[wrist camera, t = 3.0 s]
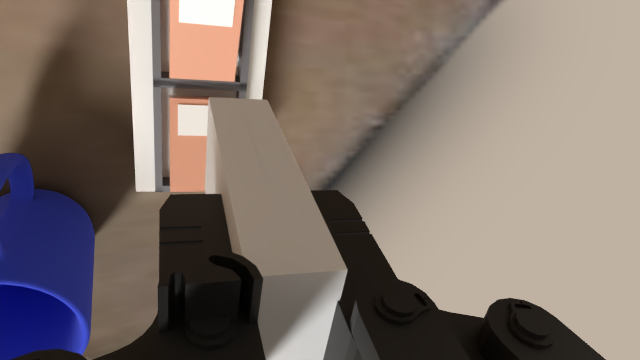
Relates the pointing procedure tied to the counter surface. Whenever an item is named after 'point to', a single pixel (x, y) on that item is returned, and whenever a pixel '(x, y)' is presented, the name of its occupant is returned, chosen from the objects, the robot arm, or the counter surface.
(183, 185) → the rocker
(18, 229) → the mug
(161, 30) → the white rack
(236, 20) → the block
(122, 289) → the counter surface
